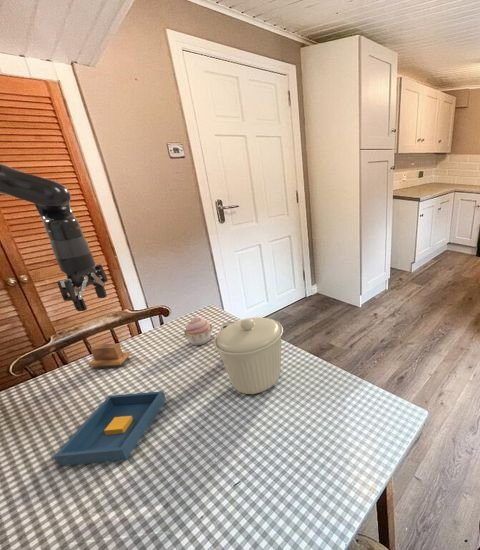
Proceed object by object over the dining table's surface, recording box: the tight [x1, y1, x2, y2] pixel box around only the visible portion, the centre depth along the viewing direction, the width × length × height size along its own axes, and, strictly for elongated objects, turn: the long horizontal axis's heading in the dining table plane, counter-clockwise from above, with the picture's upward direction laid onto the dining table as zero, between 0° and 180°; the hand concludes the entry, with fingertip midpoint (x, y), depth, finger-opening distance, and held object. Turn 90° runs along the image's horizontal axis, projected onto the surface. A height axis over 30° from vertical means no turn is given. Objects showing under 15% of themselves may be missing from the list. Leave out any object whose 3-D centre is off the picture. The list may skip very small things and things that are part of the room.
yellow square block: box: [104, 416, 133, 435], centre depth 74 cm, size 4×4×2 cm
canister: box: [213, 316, 284, 395], centre depth 86 cm, size 18×18×21 cm
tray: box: [53, 390, 167, 468], centre depth 74 cm, size 14×18×4 cm
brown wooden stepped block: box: [88, 342, 131, 370], centre depth 97 cm, size 9×5×7 cm, turn 97°
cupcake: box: [183, 316, 213, 346], centre depth 108 cm, size 9×9×10 cm
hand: (93, 303), depth 92 cm, fingers open, 8 cm apart
